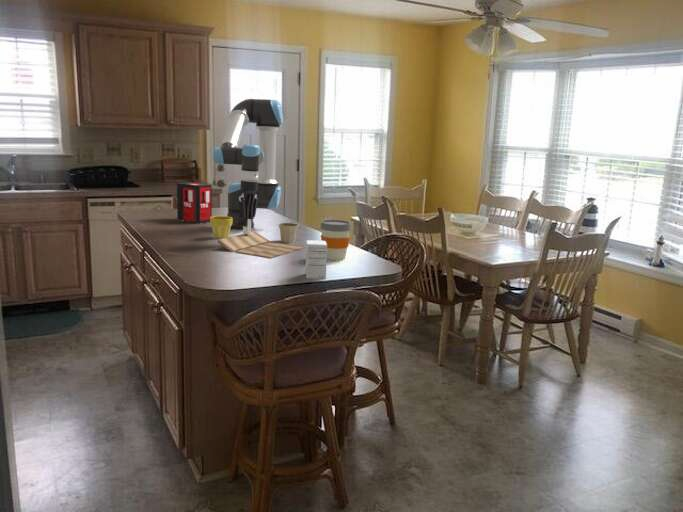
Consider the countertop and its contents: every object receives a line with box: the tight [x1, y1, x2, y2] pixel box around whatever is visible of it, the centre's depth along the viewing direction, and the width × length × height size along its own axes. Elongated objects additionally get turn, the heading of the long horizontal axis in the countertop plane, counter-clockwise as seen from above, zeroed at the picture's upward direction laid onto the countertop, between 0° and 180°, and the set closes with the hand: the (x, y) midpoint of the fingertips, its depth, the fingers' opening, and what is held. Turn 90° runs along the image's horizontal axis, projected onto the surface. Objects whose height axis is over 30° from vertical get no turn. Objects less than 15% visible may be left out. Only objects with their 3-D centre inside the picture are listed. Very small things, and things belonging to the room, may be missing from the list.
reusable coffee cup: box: [320, 219, 352, 261], centre depth 244 cm, size 13×13×15 cm
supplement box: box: [305, 239, 328, 280], centre depth 214 cm, size 7×7×13 cm
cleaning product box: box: [176, 181, 213, 225], centre depth 317 cm, size 16×9×20 cm, turn 58°
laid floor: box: [234, 241, 306, 259], centre depth 252 cm, size 26×18×1 cm
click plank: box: [217, 230, 271, 253], centre depth 258 cm, size 26×9×1 cm, turn 152°
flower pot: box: [277, 222, 300, 244], centre depth 272 cm, size 9×9×9 cm
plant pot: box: [209, 215, 233, 240], centre depth 275 cm, size 10×10×10 cm
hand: (246, 233), depth 263 cm, fingers closed, pressing on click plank
